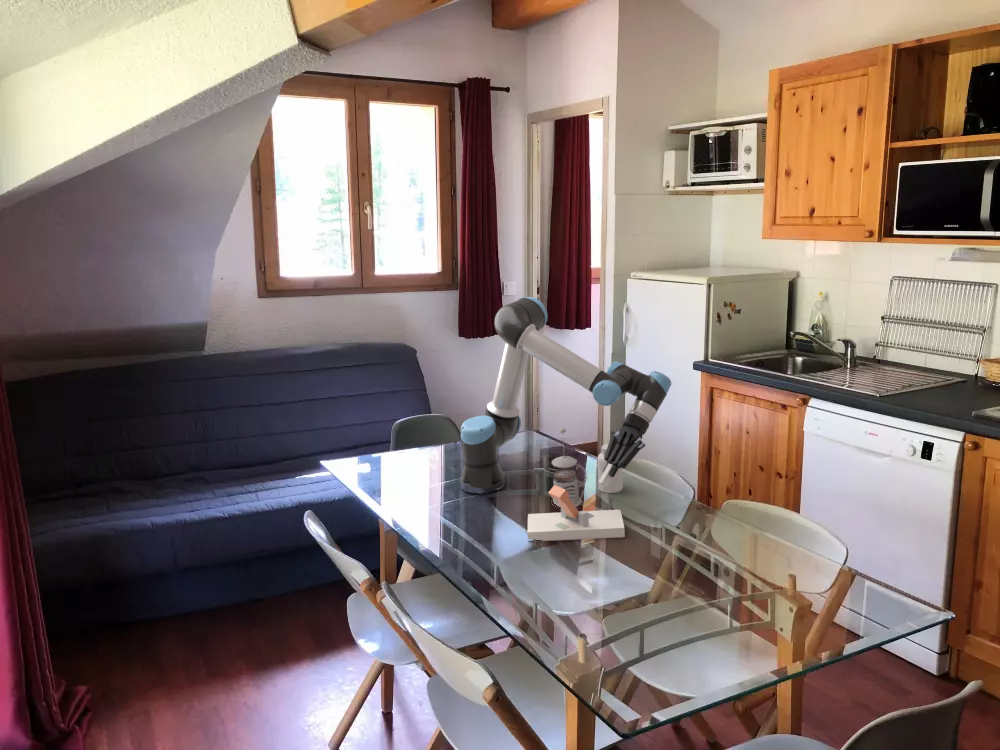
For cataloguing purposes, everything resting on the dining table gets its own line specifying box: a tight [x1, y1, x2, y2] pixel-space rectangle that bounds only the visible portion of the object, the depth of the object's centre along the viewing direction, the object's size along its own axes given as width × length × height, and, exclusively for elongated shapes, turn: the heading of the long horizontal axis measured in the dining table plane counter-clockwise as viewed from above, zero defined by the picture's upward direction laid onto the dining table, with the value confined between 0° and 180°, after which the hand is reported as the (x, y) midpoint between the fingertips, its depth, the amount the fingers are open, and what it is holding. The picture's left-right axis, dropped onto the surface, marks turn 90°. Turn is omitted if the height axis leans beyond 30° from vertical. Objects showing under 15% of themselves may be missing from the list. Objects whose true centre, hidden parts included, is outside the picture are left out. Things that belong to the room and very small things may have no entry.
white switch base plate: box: [527, 507, 626, 542], centre depth 237 cm, size 28×12×7 cm, turn 87°
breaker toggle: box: [548, 484, 580, 522], centre depth 234 cm, size 3×5×13 cm
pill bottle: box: [597, 443, 624, 494], centre depth 262 cm, size 8×8×15 cm
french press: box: [551, 427, 588, 508], centre depth 254 cm, size 10×12×25 cm
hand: (602, 484), depth 242 cm, fingers closed
